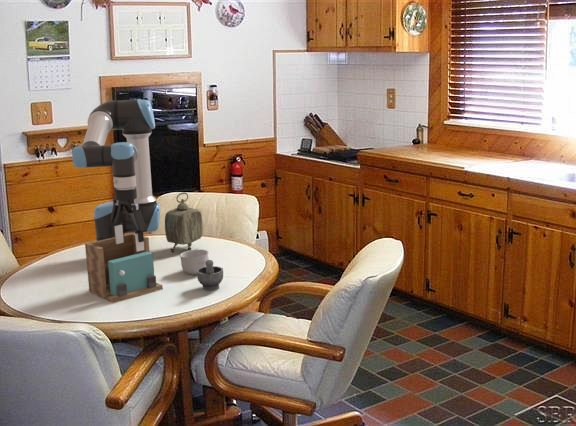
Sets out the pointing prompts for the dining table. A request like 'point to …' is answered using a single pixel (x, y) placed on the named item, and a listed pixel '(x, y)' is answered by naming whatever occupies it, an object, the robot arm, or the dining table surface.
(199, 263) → the teacup
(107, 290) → the cabinet
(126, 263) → the door
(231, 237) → the dining table surface
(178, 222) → the tabletop clock
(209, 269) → the mortar and pestle
